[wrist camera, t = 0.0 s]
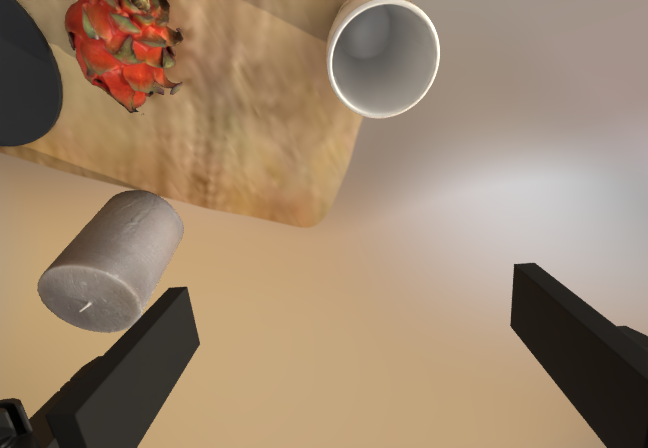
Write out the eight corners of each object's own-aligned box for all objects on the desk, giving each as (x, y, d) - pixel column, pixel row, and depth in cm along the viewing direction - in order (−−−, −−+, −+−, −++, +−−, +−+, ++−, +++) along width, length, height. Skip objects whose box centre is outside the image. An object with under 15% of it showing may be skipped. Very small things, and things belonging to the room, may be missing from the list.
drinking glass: (415, 20, 33) (466, 54, 21) (365, 80, 36) (384, 140, 24) (360, -38, 31) (382, -36, 19) (311, 32, 34) (302, 73, 22)
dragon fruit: (163, -44, 32) (162, 84, 40) (43, -69, 27) (69, 82, 35) (197, -3, 28) (188, 130, 36) (63, -24, 23) (87, 135, 31)
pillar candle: (104, 236, 48) (28, 329, 36) (110, 177, 43) (24, 262, 31) (177, 259, 50) (129, 353, 38) (192, 205, 45) (142, 295, 33)
